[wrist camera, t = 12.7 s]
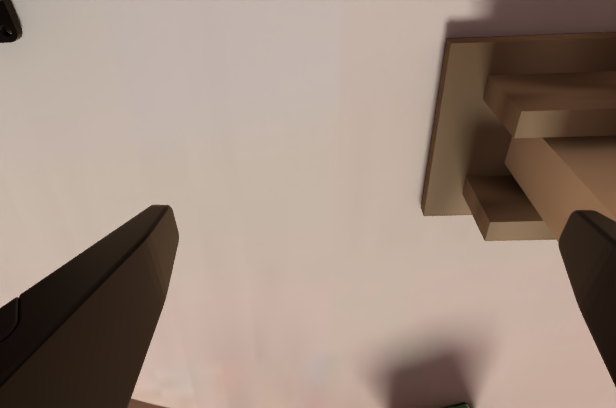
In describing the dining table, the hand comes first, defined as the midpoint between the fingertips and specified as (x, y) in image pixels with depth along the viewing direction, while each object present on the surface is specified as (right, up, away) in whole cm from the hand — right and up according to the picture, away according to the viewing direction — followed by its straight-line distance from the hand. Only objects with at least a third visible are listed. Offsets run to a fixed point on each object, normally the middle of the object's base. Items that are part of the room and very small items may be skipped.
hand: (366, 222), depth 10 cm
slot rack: (+12, +4, +13) cm, 18 cm away
